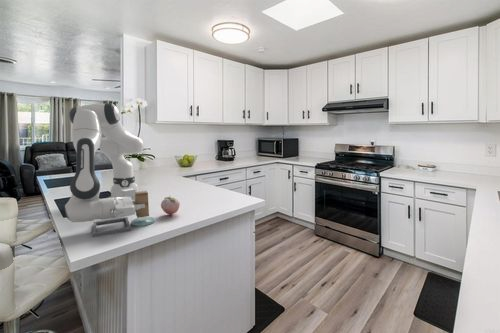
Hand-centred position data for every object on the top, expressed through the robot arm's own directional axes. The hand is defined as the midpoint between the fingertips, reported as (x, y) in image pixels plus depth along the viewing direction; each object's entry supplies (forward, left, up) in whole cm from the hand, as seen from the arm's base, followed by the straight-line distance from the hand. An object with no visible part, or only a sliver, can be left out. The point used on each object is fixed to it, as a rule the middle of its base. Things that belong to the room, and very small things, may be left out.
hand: (143, 203), depth 122 cm
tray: (0, -14, -9) cm, 16 cm away
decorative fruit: (-5, +13, -9) cm, 17 cm away
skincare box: (-21, -5, -9) cm, 23 cm away
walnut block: (0, -1, -5) cm, 6 cm away
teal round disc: (0, -1, -9) cm, 9 cm away
